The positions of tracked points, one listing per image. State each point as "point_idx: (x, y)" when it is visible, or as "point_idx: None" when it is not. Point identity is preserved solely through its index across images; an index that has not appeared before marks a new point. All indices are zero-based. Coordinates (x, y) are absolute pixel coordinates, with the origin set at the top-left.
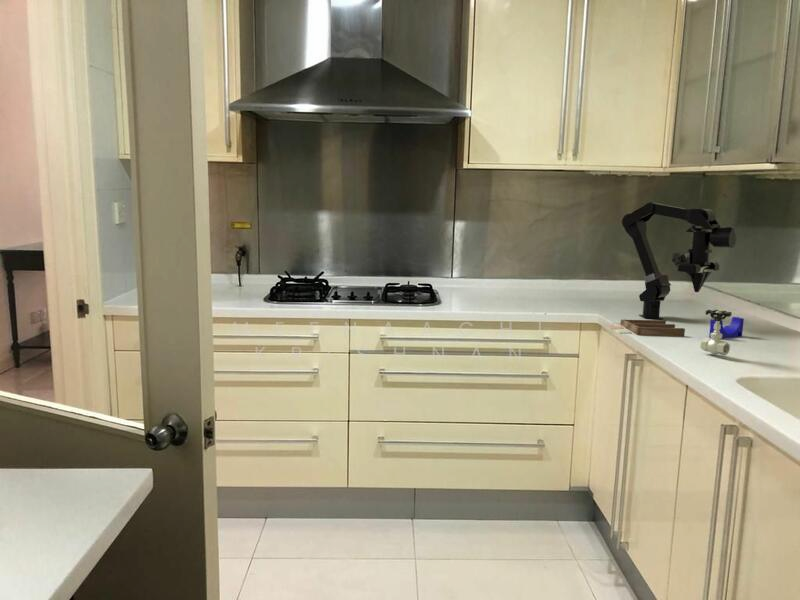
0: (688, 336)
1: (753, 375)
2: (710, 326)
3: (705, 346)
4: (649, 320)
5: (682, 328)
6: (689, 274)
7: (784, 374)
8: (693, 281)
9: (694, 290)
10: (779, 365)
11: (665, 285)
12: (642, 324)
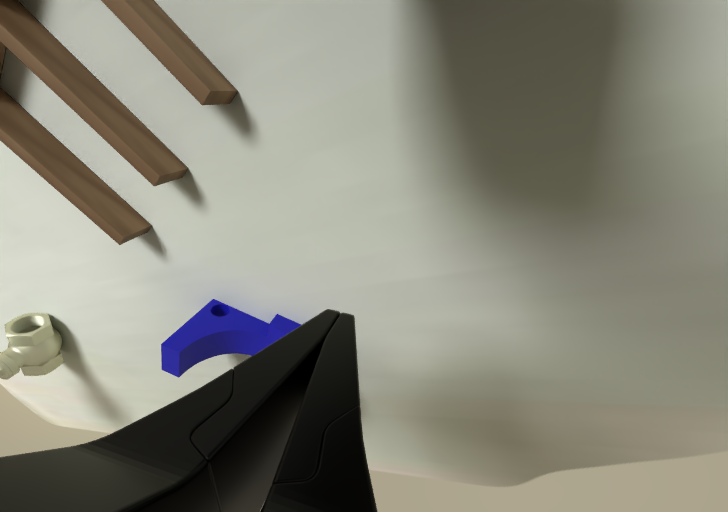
0: (163, 242)
1: (6, 386)
2: (184, 325)
3: (21, 326)
4: (121, 16)
5: (114, 236)
6: (8, 473)
7: (57, 418)
8: (214, 395)
9: (319, 316)
10: (99, 419)
11: None
12: (12, 50)
